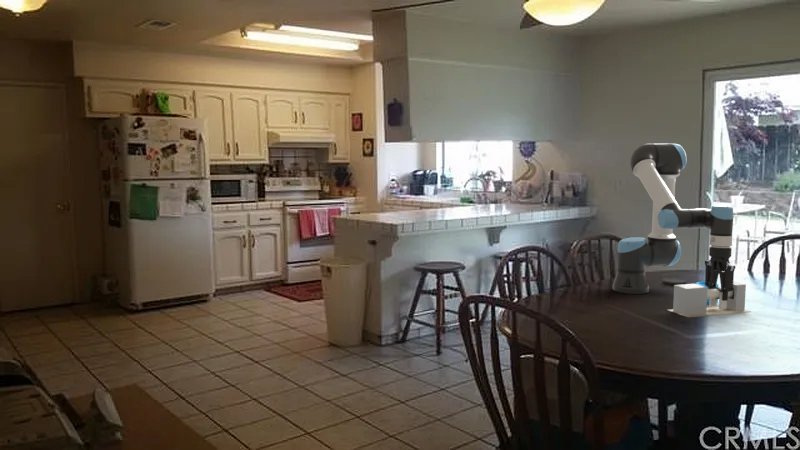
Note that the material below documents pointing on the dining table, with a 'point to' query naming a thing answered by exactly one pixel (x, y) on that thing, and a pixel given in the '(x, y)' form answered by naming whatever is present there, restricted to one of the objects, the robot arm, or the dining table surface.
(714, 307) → the mount board
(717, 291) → the tube
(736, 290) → the socket
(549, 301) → the dining table surface
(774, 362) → the dining table surface
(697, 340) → the dining table surface
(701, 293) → the sleeve
